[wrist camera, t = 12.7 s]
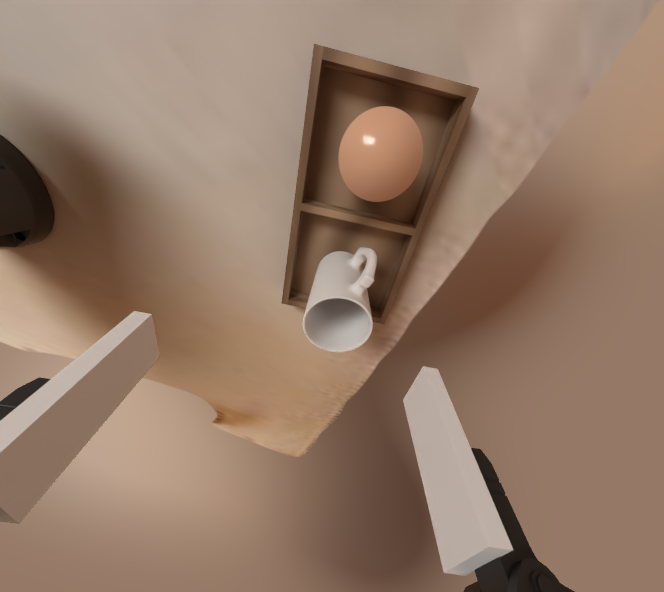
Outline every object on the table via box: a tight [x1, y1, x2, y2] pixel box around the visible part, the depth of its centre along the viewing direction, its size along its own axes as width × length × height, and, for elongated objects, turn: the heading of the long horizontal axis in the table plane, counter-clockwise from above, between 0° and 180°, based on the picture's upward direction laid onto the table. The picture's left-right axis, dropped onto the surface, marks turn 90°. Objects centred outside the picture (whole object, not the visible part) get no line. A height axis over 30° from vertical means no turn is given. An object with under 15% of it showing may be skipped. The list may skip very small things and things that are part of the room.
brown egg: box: [338, 106, 423, 202], centre depth 24 cm, size 7×7×7 cm
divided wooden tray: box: [282, 44, 479, 324], centre depth 30 cm, size 15×26×3 cm, turn 168°
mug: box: [303, 247, 377, 353], centre depth 29 cm, size 10×7×12 cm, turn 148°
